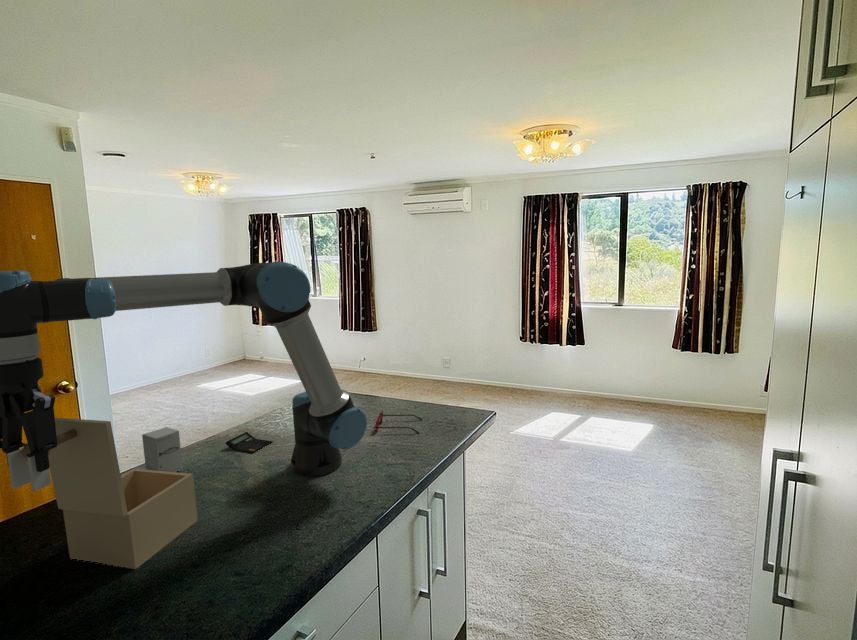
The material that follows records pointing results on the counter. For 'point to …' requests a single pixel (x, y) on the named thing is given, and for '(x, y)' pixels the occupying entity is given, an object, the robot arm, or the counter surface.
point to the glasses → (391, 427)
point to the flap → (86, 467)
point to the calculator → (247, 443)
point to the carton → (135, 520)
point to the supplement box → (162, 450)
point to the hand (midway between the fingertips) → (31, 486)
